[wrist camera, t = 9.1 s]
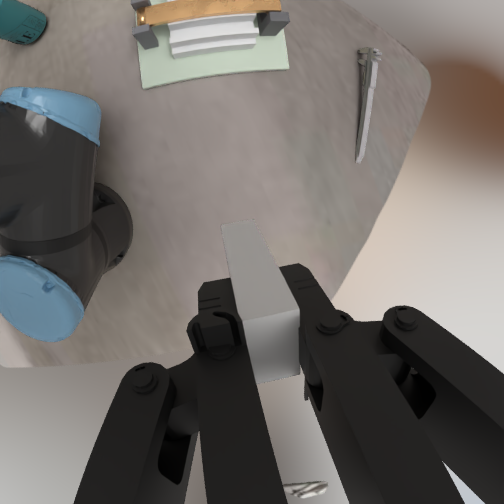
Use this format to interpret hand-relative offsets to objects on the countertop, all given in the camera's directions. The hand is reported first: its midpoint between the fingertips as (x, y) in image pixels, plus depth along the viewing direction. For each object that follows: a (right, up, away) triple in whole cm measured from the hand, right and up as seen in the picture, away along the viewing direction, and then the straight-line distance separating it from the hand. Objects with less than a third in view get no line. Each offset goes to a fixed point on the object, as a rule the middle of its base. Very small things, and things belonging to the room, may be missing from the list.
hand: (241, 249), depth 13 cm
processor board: (-6, +33, +17) cm, 38 cm away
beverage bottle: (-35, +37, +10) cm, 52 cm away
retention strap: (-5, +31, +13) cm, 34 cm away
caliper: (+18, +24, +26) cm, 40 cm away
